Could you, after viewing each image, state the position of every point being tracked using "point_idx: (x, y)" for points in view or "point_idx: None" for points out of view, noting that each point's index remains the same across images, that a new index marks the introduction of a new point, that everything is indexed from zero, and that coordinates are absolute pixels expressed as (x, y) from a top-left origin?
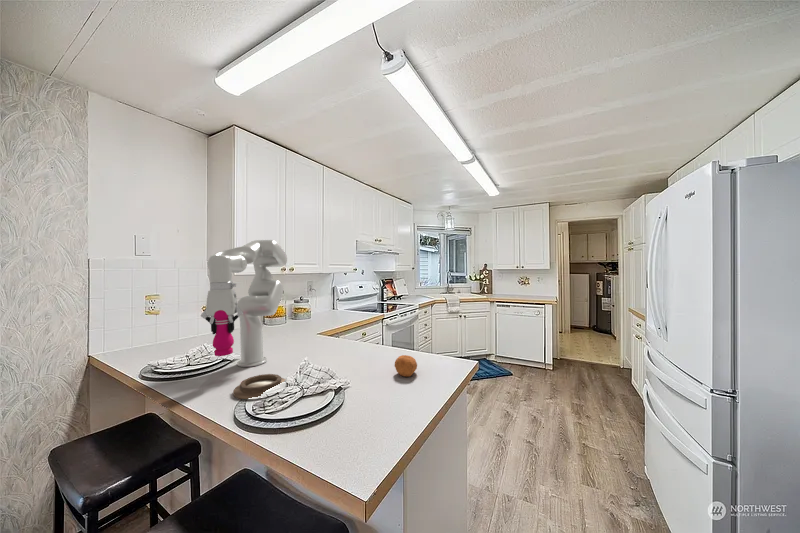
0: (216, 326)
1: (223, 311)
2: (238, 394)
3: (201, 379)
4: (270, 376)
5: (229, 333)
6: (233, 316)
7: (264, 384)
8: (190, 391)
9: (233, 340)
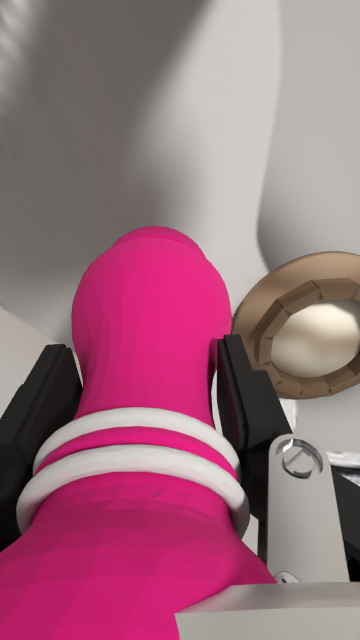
0: (53, 420)
1: None
2: None
3: (25, 159)
4: (357, 299)
5: (214, 372)
6: (334, 552)
7: (328, 332)
8: (72, 298)
9: (230, 311)
